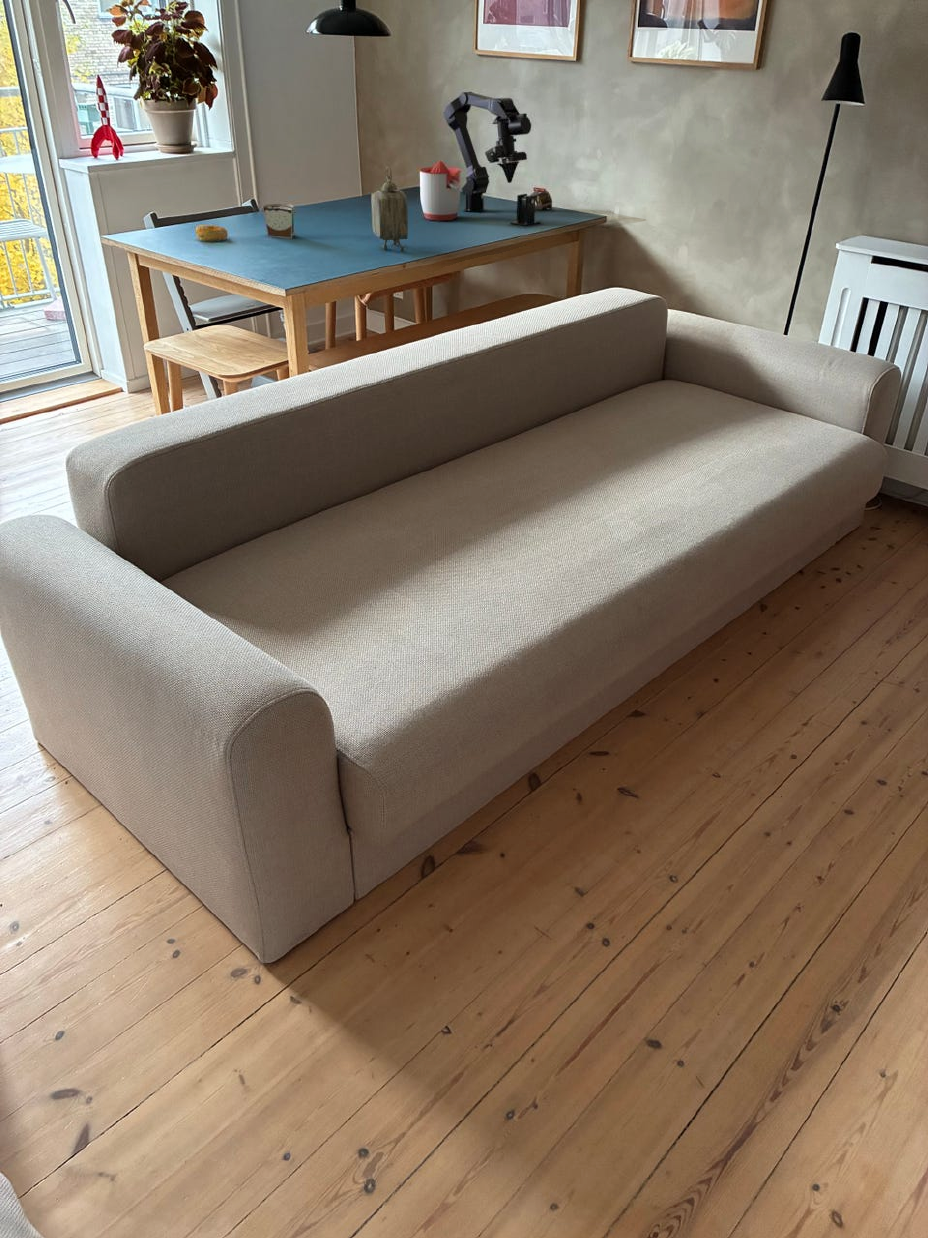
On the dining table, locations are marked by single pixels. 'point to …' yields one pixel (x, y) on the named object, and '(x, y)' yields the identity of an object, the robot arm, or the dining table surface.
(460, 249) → the dining table surface
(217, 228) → the bagel
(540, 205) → the mechanical counter
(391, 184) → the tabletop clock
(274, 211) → the food container
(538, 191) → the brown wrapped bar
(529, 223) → the bracket
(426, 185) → the citrus juicer
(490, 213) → the dining table surface
